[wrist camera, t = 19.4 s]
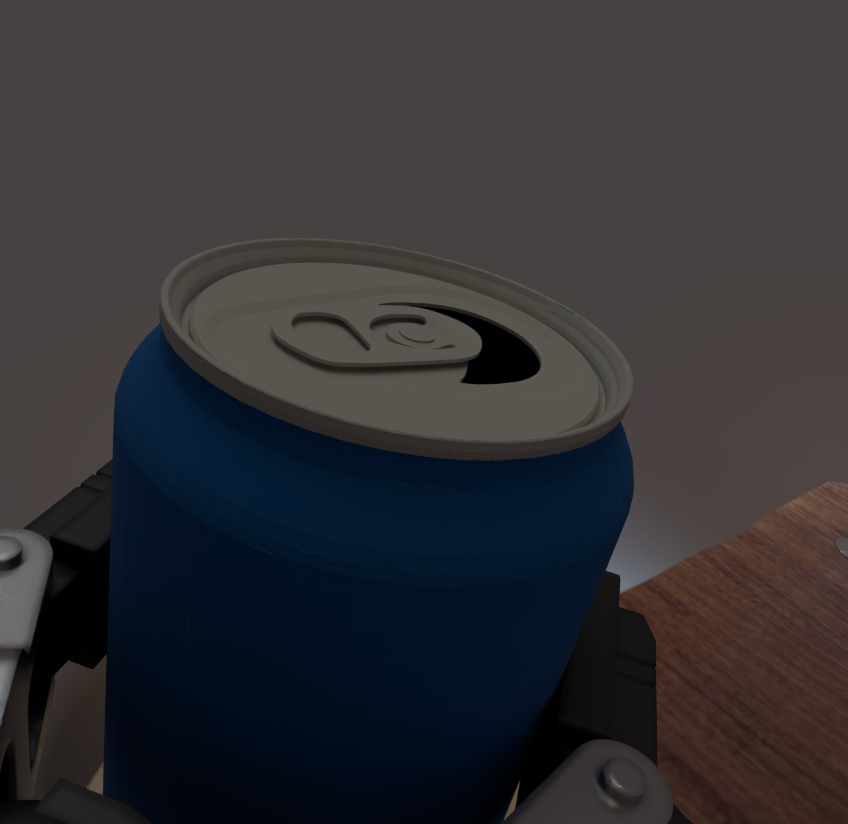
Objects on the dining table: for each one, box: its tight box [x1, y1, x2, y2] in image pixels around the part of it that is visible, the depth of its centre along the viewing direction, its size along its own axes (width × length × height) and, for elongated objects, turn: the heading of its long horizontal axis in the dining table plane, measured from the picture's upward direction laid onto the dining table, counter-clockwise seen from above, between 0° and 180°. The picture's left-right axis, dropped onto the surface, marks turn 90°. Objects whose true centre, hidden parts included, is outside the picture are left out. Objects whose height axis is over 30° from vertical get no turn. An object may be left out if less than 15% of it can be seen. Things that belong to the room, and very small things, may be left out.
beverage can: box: [103, 238, 634, 824], centre depth 12 cm, size 6×6×12 cm
